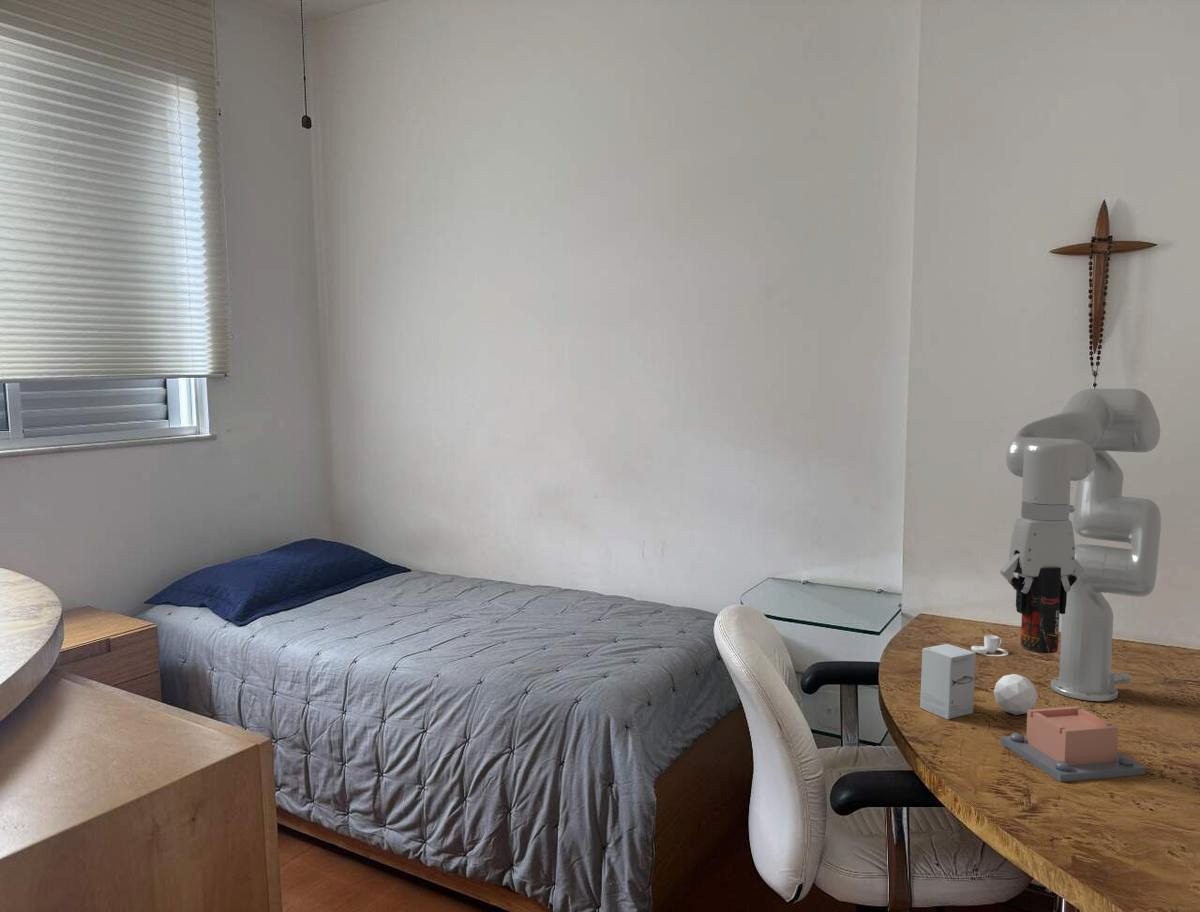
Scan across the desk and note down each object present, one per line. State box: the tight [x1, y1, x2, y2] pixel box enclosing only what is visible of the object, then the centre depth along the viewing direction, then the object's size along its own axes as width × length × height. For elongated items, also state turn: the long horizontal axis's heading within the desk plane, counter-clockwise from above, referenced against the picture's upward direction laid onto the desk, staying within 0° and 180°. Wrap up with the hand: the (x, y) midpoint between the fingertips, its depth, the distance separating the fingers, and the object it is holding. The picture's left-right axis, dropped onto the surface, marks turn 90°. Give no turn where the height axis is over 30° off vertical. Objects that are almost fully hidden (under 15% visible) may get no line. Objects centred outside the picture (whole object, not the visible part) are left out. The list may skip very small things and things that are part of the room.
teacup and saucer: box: [970, 634, 1009, 657], centre depth 216 cm, size 9×8×4 cm
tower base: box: [1000, 705, 1146, 783], centre depth 155 cm, size 16×16×7 cm
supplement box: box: [919, 643, 977, 721], centre depth 177 cm, size 7×7×13 cm
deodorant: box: [1020, 568, 1061, 654], centre depth 157 cm, size 6×6×15 cm
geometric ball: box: [993, 673, 1038, 716], centre depth 177 cm, size 8×8×8 cm
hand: (1040, 611), depth 157 cm, fingers closed on deodorant, 6 cm apart
